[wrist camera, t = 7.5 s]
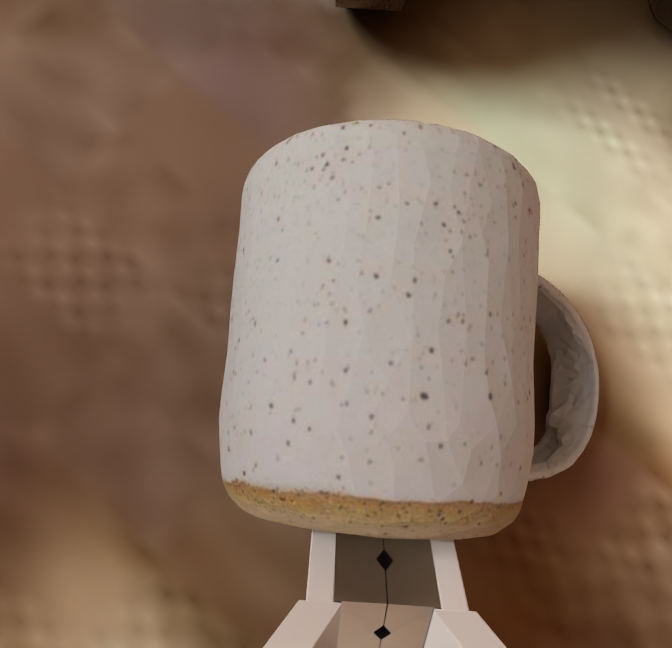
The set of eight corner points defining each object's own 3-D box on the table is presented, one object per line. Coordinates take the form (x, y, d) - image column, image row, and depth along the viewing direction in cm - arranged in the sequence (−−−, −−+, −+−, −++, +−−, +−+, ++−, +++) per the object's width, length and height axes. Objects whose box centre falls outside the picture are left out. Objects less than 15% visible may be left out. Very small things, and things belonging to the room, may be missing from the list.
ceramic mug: (234, 501, 15) (154, 538, 7) (262, 250, 17) (221, 85, 10) (583, 521, 15) (844, 576, 8) (564, 271, 17) (751, 127, 10)
